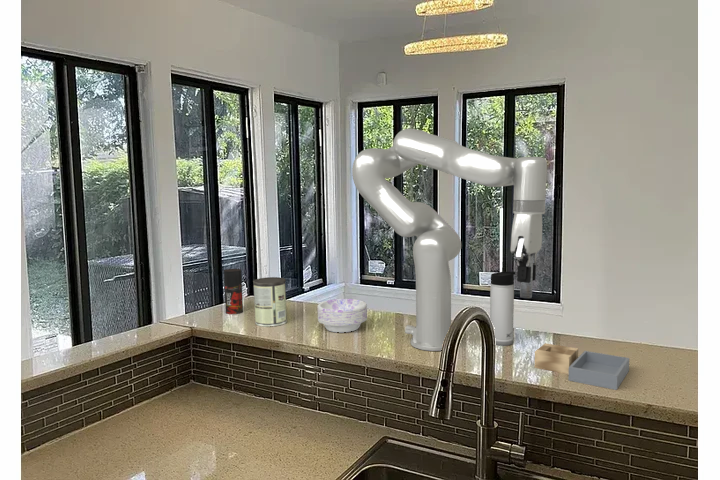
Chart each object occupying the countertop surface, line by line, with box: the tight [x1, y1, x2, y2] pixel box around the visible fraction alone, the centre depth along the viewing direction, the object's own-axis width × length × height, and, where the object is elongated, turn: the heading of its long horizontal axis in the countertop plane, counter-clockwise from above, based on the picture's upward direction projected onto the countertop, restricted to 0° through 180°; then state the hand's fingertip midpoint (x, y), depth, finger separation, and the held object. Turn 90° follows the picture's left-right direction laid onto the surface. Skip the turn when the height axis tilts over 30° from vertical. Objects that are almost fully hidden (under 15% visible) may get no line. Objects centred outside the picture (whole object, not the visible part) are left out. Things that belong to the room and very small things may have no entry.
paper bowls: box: [316, 298, 368, 334], centre depth 167 cm, size 15×15×8 cm
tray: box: [568, 350, 630, 391], centre depth 125 cm, size 10×14×3 cm
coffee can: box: [252, 276, 288, 328], centre depth 175 cm, size 10×10×14 cm
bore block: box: [534, 342, 579, 375], centre depth 131 cm, size 8×8×4 cm
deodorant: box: [223, 268, 244, 315], centre depth 190 cm, size 6×6×15 cm
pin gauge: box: [519, 251, 534, 299], centre depth 136 cm, size 3×3×12 cm
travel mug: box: [489, 270, 517, 347], centre depth 150 cm, size 6×7×20 cm
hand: (526, 280), depth 136 cm, fingers closed on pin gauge, 2 cm apart
